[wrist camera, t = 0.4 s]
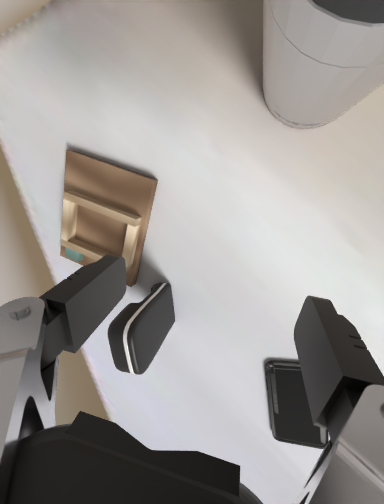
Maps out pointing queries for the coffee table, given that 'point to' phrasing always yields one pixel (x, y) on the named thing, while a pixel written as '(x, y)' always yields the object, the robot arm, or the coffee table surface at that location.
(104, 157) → the coffee table surface
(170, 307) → the battery charger
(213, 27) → the coffee table surface
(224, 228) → the coffee table surface
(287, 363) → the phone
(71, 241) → the board
